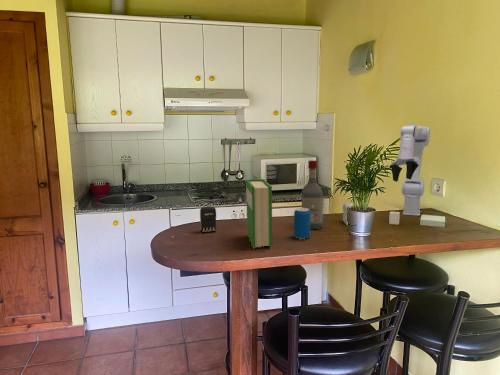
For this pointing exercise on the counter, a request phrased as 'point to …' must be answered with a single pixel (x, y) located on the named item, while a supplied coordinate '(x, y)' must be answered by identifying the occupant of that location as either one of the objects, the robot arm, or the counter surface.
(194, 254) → the counter surface
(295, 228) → the beverage can
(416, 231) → the counter surface
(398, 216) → the cream block
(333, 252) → the counter surface
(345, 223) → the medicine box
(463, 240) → the counter surface
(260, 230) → the hardback book
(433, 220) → the sage block
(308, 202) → the liquor
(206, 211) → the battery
